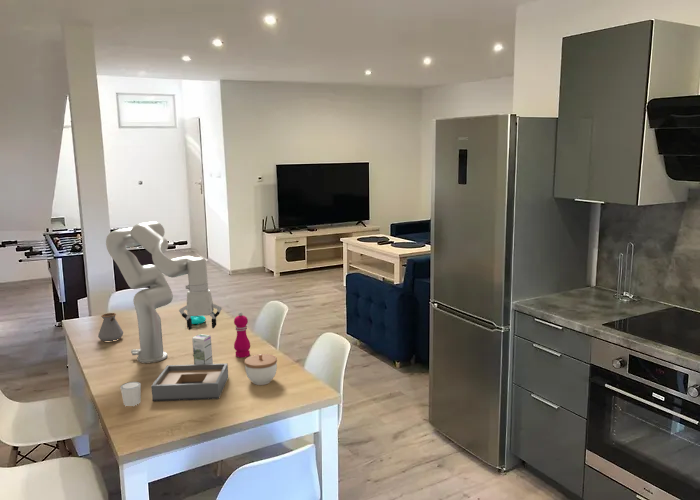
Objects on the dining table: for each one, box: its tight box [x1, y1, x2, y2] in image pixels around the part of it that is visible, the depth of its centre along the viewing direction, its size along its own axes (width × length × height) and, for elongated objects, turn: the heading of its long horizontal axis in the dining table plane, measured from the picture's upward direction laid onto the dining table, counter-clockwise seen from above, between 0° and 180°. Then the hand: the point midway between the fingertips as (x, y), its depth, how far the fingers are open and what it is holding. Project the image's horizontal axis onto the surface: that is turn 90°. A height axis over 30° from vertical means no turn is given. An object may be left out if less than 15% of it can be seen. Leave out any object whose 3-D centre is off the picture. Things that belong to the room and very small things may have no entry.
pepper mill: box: [233, 311, 251, 359], centre depth 243 cm, size 7×7×20 cm
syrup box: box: [192, 333, 214, 365], centre depth 228 cm, size 6×6×14 cm
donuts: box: [185, 309, 207, 325], centre depth 295 cm, size 10×10×10 cm
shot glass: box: [120, 381, 142, 407], centre depth 198 cm, size 7×7×7 cm
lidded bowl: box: [244, 353, 278, 386], centre depth 215 cm, size 13×13×11 cm
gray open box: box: [150, 363, 229, 402], centre depth 209 cm, size 24×20×6 cm
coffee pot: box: [97, 312, 124, 342], centre depth 264 cm, size 21×12×15 cm, turn 30°
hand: (202, 328), depth 226 cm, fingers open, 9 cm apart
